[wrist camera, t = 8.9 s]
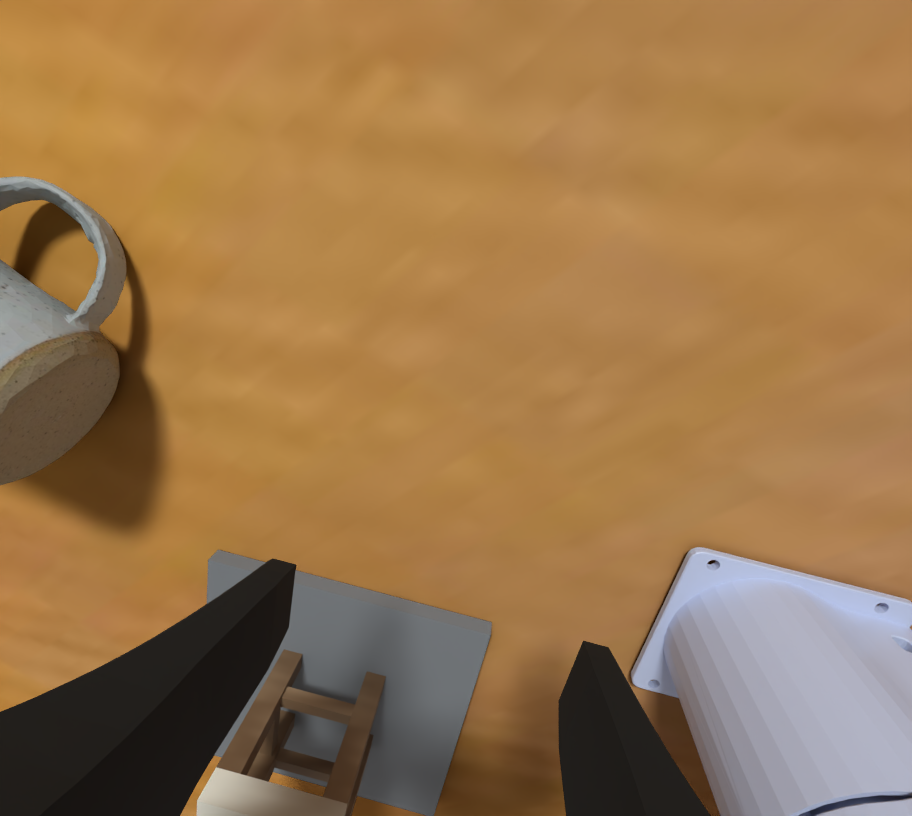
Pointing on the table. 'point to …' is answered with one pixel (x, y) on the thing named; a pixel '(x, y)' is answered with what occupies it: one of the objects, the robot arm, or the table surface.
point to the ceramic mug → (54, 346)
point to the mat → (381, 652)
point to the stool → (262, 749)
